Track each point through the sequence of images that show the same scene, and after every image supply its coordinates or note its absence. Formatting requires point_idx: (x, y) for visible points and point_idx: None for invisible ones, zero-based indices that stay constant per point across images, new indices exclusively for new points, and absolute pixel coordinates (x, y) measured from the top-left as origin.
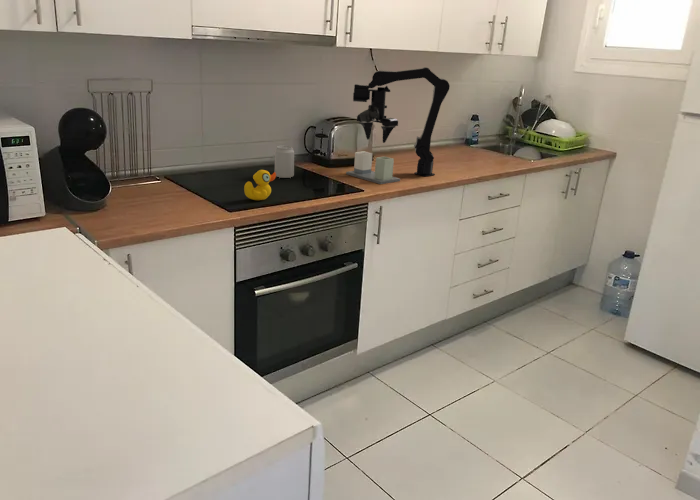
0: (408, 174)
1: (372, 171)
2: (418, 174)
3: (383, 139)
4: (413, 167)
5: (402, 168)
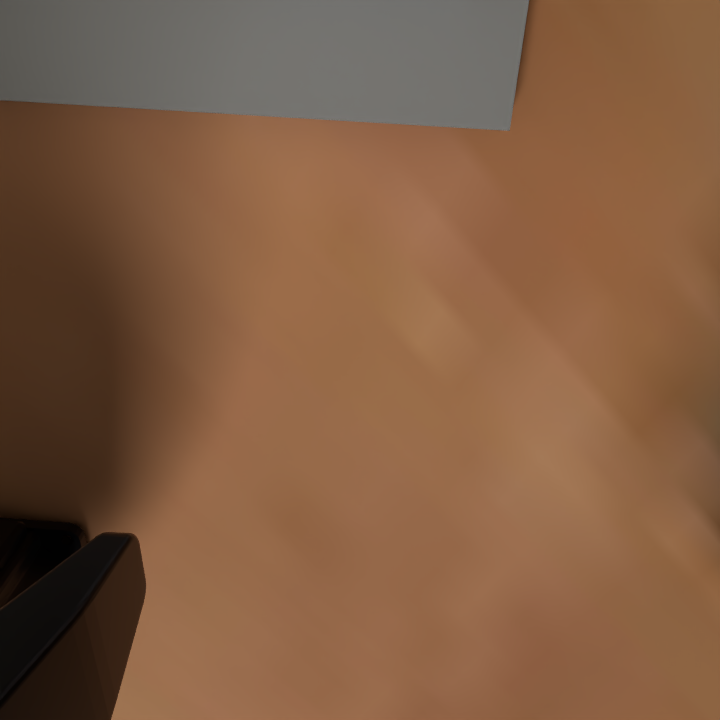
0: (88, 464)
1: (319, 90)
2: (11, 520)
3: (33, 602)
4: (321, 709)
5: (347, 615)
